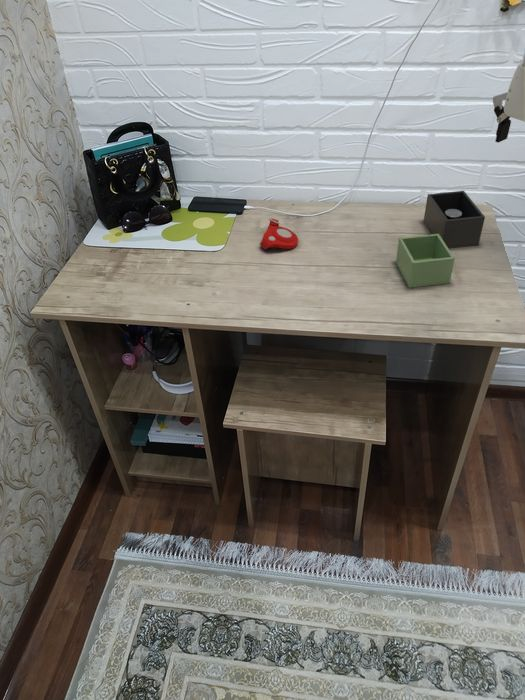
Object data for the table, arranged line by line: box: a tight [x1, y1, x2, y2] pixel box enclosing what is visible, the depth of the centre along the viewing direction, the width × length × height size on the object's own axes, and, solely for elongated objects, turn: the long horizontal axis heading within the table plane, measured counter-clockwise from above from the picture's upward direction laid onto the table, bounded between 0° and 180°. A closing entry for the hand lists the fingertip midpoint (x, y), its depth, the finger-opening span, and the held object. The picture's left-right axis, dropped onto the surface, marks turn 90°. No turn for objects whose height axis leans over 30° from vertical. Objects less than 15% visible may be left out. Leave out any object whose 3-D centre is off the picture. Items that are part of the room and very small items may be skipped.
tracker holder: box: [259, 218, 299, 250], centre depth 142 cm, size 12×4×10 cm
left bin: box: [395, 233, 456, 289], centre depth 128 cm, size 10×9×7 cm
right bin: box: [423, 190, 486, 249], centre depth 139 cm, size 13×9×8 cm
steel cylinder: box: [445, 209, 462, 220], centre depth 139 cm, size 4×4×5 cm
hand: (520, 147), depth 119 cm, fingers open, 9 cm apart
